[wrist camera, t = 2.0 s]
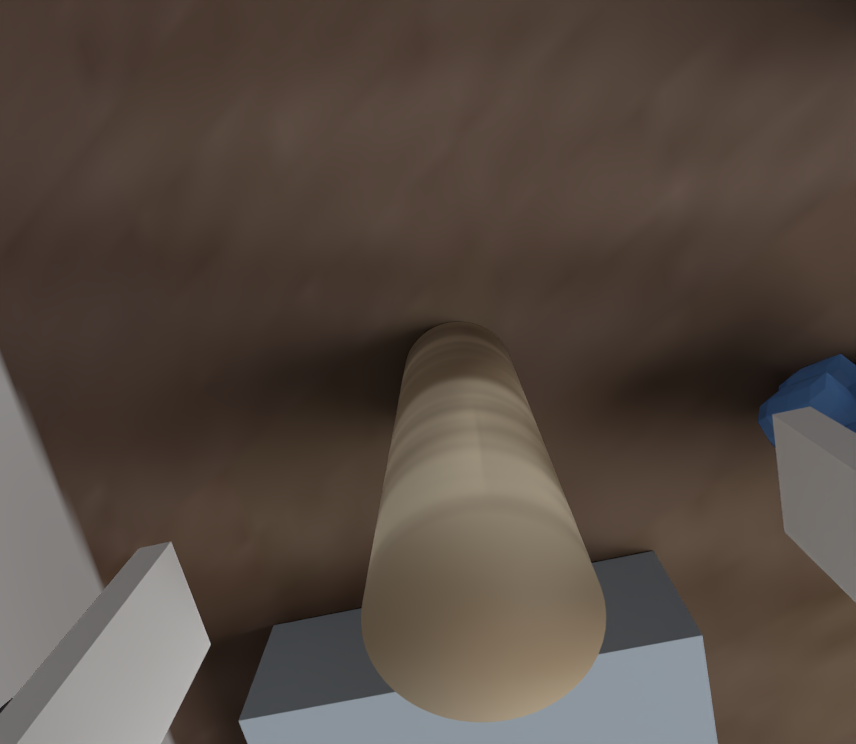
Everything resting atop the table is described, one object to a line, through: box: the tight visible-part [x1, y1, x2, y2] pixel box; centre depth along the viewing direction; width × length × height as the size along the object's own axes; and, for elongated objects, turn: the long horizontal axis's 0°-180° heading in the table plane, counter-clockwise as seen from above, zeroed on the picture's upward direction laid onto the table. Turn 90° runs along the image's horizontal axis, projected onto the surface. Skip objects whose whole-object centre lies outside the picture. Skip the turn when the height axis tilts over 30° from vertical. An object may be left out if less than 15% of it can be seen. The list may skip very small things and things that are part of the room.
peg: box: [361, 322, 606, 722], centre depth 17 cm, size 4×4×14 cm
